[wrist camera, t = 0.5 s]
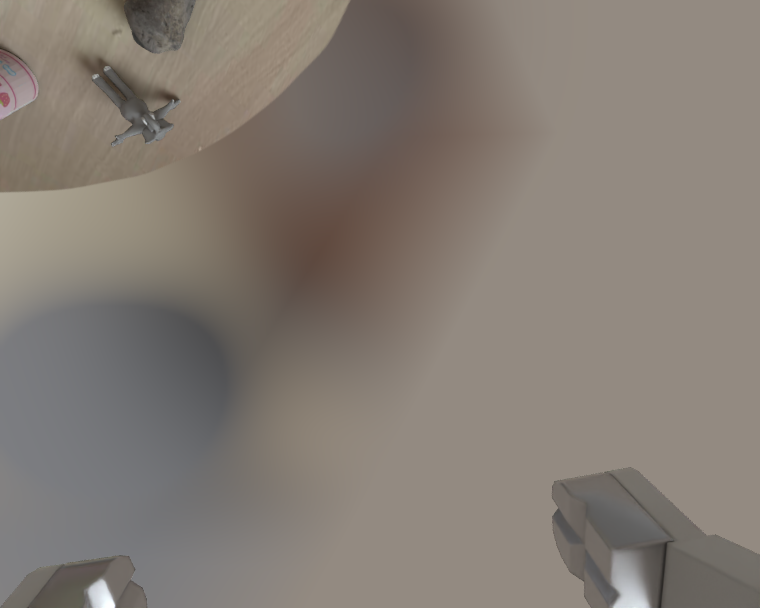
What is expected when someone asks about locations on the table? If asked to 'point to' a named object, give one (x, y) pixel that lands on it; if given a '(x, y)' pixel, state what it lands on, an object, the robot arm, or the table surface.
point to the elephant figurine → (135, 110)
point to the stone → (158, 22)
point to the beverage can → (15, 84)
